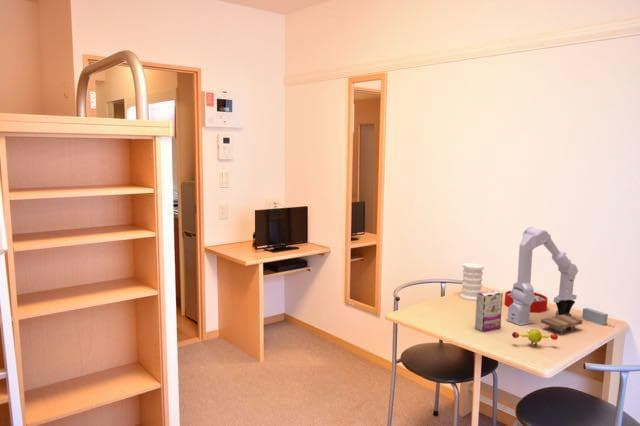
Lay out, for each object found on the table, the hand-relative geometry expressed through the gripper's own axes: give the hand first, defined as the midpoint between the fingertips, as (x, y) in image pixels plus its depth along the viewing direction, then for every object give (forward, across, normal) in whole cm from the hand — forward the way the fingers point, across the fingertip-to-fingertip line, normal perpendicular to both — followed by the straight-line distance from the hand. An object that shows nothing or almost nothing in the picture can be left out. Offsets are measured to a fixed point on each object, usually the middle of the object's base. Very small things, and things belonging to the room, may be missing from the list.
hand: (563, 315), depth 227 cm
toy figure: (+2, -43, -16) cm, 46 cm away
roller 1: (+1, 0, 0) cm, 1 cm away
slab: (-1, -15, -9) cm, 18 cm away
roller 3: (+2, -11, -9) cm, 14 cm away
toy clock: (+2, -1, +21) cm, 21 cm away
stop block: (+2, +10, -9) cm, 14 cm away
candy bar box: (+2, -45, +6) cm, 45 cm away
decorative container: (+2, -16, +43) cm, 46 cm away
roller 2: (+2, -18, -9) cm, 20 cm away
